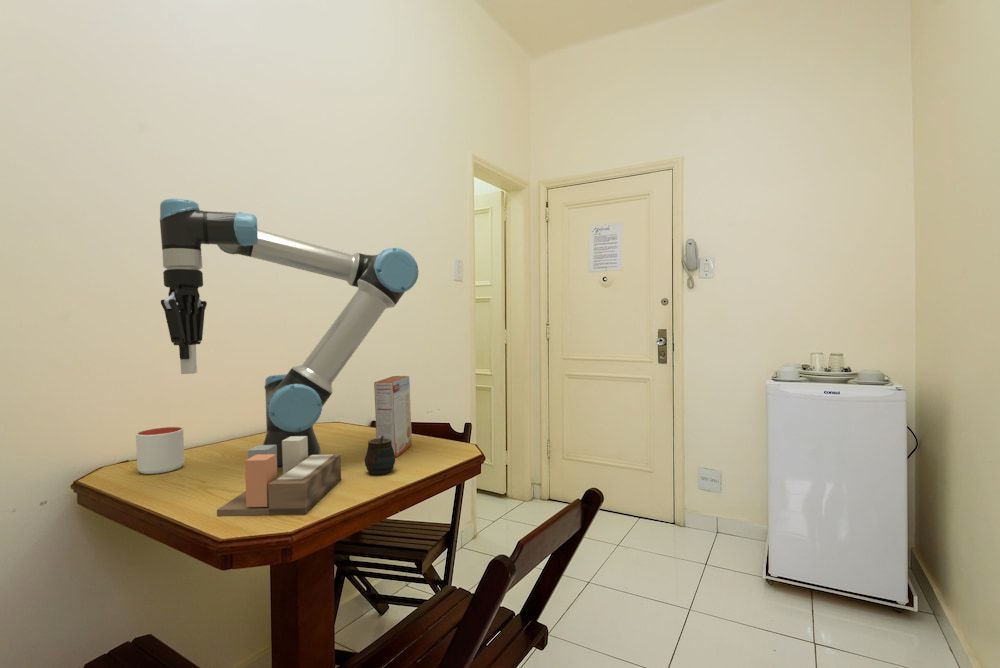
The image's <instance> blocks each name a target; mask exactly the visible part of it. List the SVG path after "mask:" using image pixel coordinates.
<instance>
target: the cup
mask: <svg viewBox="0 0 1000 668" xmlns="http://www.w3.org/2000/svg"><path fill="white" fill-rule="evenodd" d="M135 438H136V439H135V440H136V441H135V443H136V446H135V447H136V469H137V471H138V472H139V473H141V474H144V475H155V474H157V475H158V474H164V473H169V472H173V471H176V470H179V469H180V468H181V467H182V466H183V465H184V463H185V448H184V447H185V444H184V442H185V441H184V439H185V438H184V428H183V427H181V426H170V427H169V426H168V427H167V426H166V427H165V426H164V427H157V428H151V429H150V428H149V429H145V430H142V431H138V432H136V433H135Z"/></svg>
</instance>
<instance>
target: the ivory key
mask: <svg viewBox="0 0 1000 668" xmlns="http://www.w3.org/2000/svg"><path fill="white" fill-rule="evenodd" d="M307 457H308V438H307V436H290V437H288V438H286V439H285V440H283V441H282V461H283V466H282V474H283V473H285V472H286V471H288V470H289V469H291V468H292V467H294V466H295V465H297V464H298V463H300V462H301V461H302V460H304V459H305V458H307Z"/></svg>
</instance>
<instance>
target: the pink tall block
mask: <svg viewBox="0 0 1000 668" xmlns="http://www.w3.org/2000/svg"><path fill="white" fill-rule="evenodd" d="M244 466H245V467H244V469H245V491H246V507H268V506H269V494H268V484H269V483H270V482H272V481H273V480H275V479H276V478H277V472H278V466H277V463H276V454H257V455H254V456H253V457H251V458H249V459H248V458H247V459H245V460H244Z"/></svg>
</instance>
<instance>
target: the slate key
mask: <svg viewBox="0 0 1000 668" xmlns="http://www.w3.org/2000/svg"><path fill="white" fill-rule="evenodd" d="M257 454H276V463H277V445H263V444H258V445H255V446H253V447H251V448H250V449H248V450H247V459H249V458H251V457H253V456H254V455H257ZM278 474H279V473H278V471H277V478H278V476H279V475H278Z"/></svg>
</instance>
